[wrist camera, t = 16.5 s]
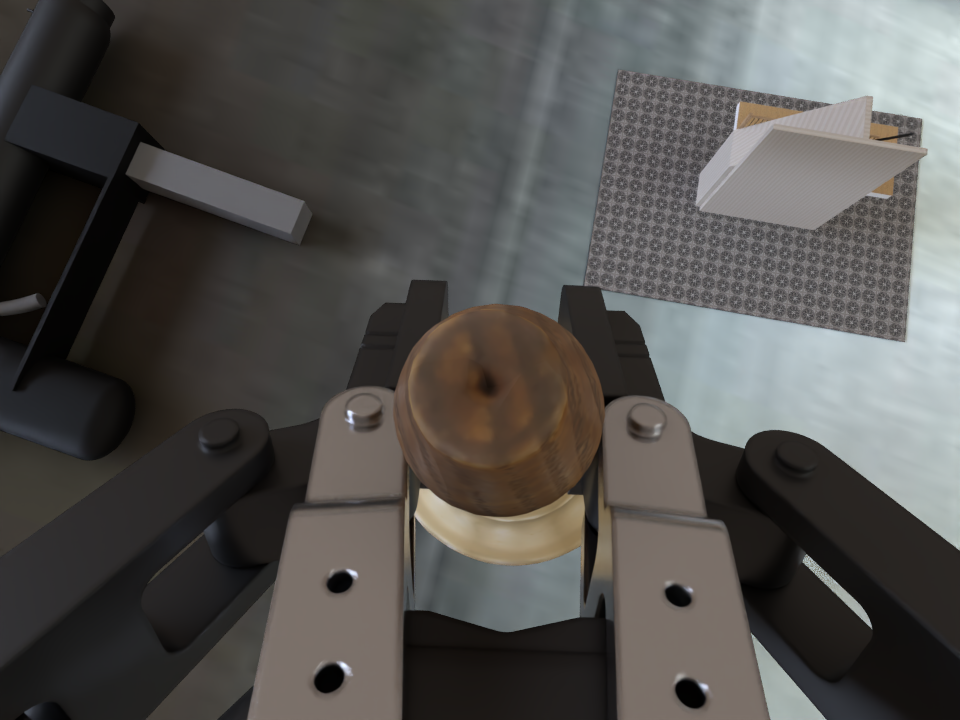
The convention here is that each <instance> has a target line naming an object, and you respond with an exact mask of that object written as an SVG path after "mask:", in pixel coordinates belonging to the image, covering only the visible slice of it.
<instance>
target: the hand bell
mask: <svg viewBox="0 0 960 720" xmlns="http://www.w3.org/2000/svg"><path fill="white" fill-rule="evenodd" d="M393 418H394V423H395V429H396V434H397V438H398V441H399V444H400V446H401V449H402V451H403V454H404V457H405V459H406V461H407V463H408V464H409V466H410V467H411V469H412V470H413V472H414V473H415V475H416V476H417V477H418V479H419V480H420V481H421V482H422V483H423V484H424V485H425V486H426V487H427V488H428V489H420V490H419V497H418V504H417V509H416V511H415V517H416V518H417V520H418V521H419V522H420V523H421V524H422V525H423V527H424V528H425V529H426V530H427V531H428V532H429V533H430V534H432V535H433V536H434V537H435V538H437V539H438V540H439V541H441V542H442V543H444V544H445V545H446V546H448V547H449V548H451V549H453V550H455V551H457V552H458V553H461V554H463V555H465V556H468V557H470V558H473V559H476V560H479V561H482V562H486V563H491V564H498V565H511V566H518V565H529V564H535V563H541V562H544V561H548V560H551V559H554V558H557V557H559V556H562V555H564V554H566V553H568V552H570V551H572V550H574V549H576V548H578V547H580V546H581V528H582V522H583V516H584V511H585V505H584V498H583V495H568V494H567V492H568V491H569V490H570V489H571V488H573V487H574V486H575V485H576V484H577V483H578V481H579V480H580V479H581V477H582V476H583V475H584V473H585V472H586V471H587V469H588V468H589V466H590V464H591V463H592V460H593V458H594V456H595V454H596V452H597V449H598V446H599V443H600V439H601V435H602V429H603V423H604V418H605V407H604V398H603V393H602V388H601V384H600V380H599V377H598V375H597V372H596V370H595V368H594V365H593V363H592V361H591V360H590V358H589V356H588V355H587V353H586V351H585V350H584V348H583V347H582V345H581V344H580V343H579V342H578V340H577V339H576V338H575V337H574V336H573V335H572V334H571V333H570V332H569V331H568V330H566V329H565V328H564V327H562V326H561V325H560V324H558V323H557V322H556V321H554V320H552V319H550V318H548V317H547V316H545V315H543V314H541V313H538V312H535V311H533V310H530V309H527V308H524V307H520V306H512V305H502V304H490V305H484V306H477V307H472V308H469V309H466V310H463V311H460V312H458V313H455V314H453V315H451V316H449V317H448V318H446V319H444V320H443V321H441V322H440V323H438V324H436V325H435V326H433V327H432V328H431V329H430V330H428V331H427V332H426V333H425V334H424V335H423V336H422V338H421V339H420V340H419V341H418V342H417V343H416V344H415V346H414V347H413V349H412V350H411V352H410V354H409V356H408V358H407V360H406V362H405V364H404V366H403V369H402V371H401V373H400V376H399V380H398V383H397V386H396V390H395V393H394V405H393Z"/></svg>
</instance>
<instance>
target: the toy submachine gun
mask: <svg viewBox="0 0 960 720" xmlns="http://www.w3.org/2000/svg"><path fill="white" fill-rule="evenodd" d="M27 11H29V12H31V13H32V15H31V17H30V19H29V21H28V23H27V25H26V27H25V29H24V31H23V33H22V35H21V37H20V39H19V41H18V42H17V44H16V46H15V48H14V50H13V52H12V54H11V56H10V58H9V60H8V62H7V64H6V66H5V68H4V70H3V72H2V74H1V76H0V267H1V265H2V263H3V261H4V259H5V257H6V255H7V252H8V250H9V248H10V246H11V244H12V242H13V240H14V238H15V236H16V234H17V232H18V230H19V228H20V226H21V224H22V222H23V220H24V218H25V216H26V214H27V212H28V209H29V207H30V205H31V203H32V201H33V199H34V197H35V195H36V193H37V191H38V189H39V187H40V185H41V183H42V181H43V179H44V177H45V175H46V173H47V171H48V169H50V170H52V171H55V172H58V173H61V174H63V175H66V176H69V177H72V178H75V179H77V180H80V181H83V182H86V183H88V184H91V185H94V186H97V187H99V188H102V191H101V193H100V195H99V197H98V199H97V202H96V204H95V206H94V208H93V210H92V212H91V214H90V216H89V218H88V221H87V223H86V225H85V227H84V229H83V231H82V233H81V235H80V238H79V240H78V242H77V244H76V246H75V248H74V250H73V252H72V254H71V257H70V259H69V261H68V263H67V265H66V267H65V269H64V271H63V274H62V276H61V278H60V280H59V282H58V284H57V286H56V288H55V290H54V293H53V295H52V297H51V299H50V301H49V303H48V305H47V307H46V300H45V299H44V297H43V296H42V295H41V294H39V293H36V294H33V295H30V296H27V297H23V298H20V299H15V300H11V301H5V302H0V316H7V315H15V314H21V313H25V312H30V311H33V310H37V309H40V308H43V307H46V309H45V312H44V314H43V316H42V318H41V320H40V322H39V324H38V326H37V329H36V331H35V333H34V335H33V337H32V339H31V341H30V343H29V345H28V346H26V345H23V344H21V343H18V342H15V341H12V340H10V339H7V338H4V337H1V336H0V430H1V431H4V432H7V433H9V434H12V435H15V436H18V437H20V438H23V439H26V440H29V441H32V442H34V443H37V444H40V445H43V446H46V447H48V448H51V449H54V450H57V451H60V452H62V453H65V454H68V455H71V456H73V457H76V458H79V459H82V460H96V459H99V458H102V457H104V456H106V455H108V454H109V453H111V452H112V451H113V450H114V449H115V448H117V447H118V446H119V444H120V443H121V442H122V441H123V439H124V438H125V437H126V435H127V433H128V431H129V429H130V427H131V425H132V422H133V419H134V414H135V398H134V394H133V391H132V389H131V388H130V386H129V385H128V384H127V383H126V382H124V381H123V380H121V379H118V378H115V377H112V376H110V375H107V374H104V373H101V372H99V371H96V370H93V369H90V368H87V367H85V366H82V365H79V364H76V363H74V362H71V361H68V360H66V358H67V356H68V353H69V351H70V349H71V347H72V345H73V343H74V340H75V338H76V336H77V334H78V332H79V330H80V327H81V325H82V323H83V321H84V319H85V317H86V314H87V312H88V310H89V308H90V306H91V304H92V301H93V299H94V297H95V295H96V293H97V291H98V288H99V286H100V284H101V282H102V280H103V278H104V275H105V273H106V271H107V269H108V267H109V265H110V262H111V260H112V258H113V256H114V254H115V252H116V249H117V247H118V245H119V243H120V241H121V239H122V236H123V234H124V232H125V230H126V228H127V226H128V223H129V221H130V219H131V217H132V215H133V213H134V210H135V208H136V206H137V204H138V202H141V203H145V200H146V198H147V196H148V194H149V192H153V193H156V194H159V195H161V196H164V197H167V198H170V199H172V200H175V201H178V202H181V203H184V204H186V205H189V206H192V207H195V208H197V209H200V210H203V211H206V212H208V213H211V214H214V215H217V216H219V217H222V218H225V219H228V220H231V221H233V222H236V223H239V224H242V225H244V226H247V227H250V228H253V229H255V230H258V231H261V232H264V233H267V234H269V235H272V236H275V237H278V238H280V239H283V240H286V241H289V242H291V243H294V244H297V245H300V243H301V241H302V238H303V236H304V234H305V231H306V229H307V226H308V224H309V221H310V219H311V217H312V213H311V211H310V210H309V208H308V206H307V205H306V203H305V201H302V200H300V199H297V198H294V197H291V196H288V195H286V194H283V193H280V192H277V191H275V190H272V189H269V188H266V187H264V186H261V185H258V184H255V183H253V182H250V181H247V180H244V179H241V178H239V177H236V176H233V175H230V174H228V173H225V172H222V171H219V170H217V169H214V168H211V167H208V166H206V165H203V164H200V163H197V162H195V161H192V160H189V159H186V158H183V157H181V156H178V155H175V154H172V153H170V152H167V151H166V150H165V149H164V148H163V147H162V146H161V145H160V144H159V143H158V142H157V141H156V140H155V139H154V138H153V137H152V136H151V135H150V134H149V133H148V132H147V131H146V130H145V129H144V128H143V127H142V126H141V125H140V124H139V123H137V122H135V121H132V120H129V119H126V118H124V117H121V116H118V115H115V114H112V113H110V112H107V111H104V110H101V109H99V108H96V107H93V106H90V105H88V104H85V103H82V102H81V101H82V99H83V97H84V95H85V93H86V91H87V89H88V87H89V85H90V83H91V81H92V79H93V77H94V74H95V72H96V70H97V68H98V66H99V64H100V62H101V60H102V58H103V56H104V54H105V52H106V50H107V48H108V46H109V43H110V27H111V25H112V23H113V21H114V19H115V15H114V13H113V12H112V10H111V9H110V8H109V7H108V6H107V5H106V4H105V3H104V2H103V1H102V0H39V2H38V4H37V5H36V7H35V9H33V10H31V9H27Z"/></svg>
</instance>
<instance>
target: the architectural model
mask: <svg viewBox="0 0 960 720" xmlns="http://www.w3.org/2000/svg"><path fill="white" fill-rule="evenodd" d="M872 103H873V97H872V96H864V97H860V98H856V99H853V100H849V101H845V102H841V103H837V104H827V103H821V102H815V101H809V100H803V99H797V98H790V97H784V96H778V95H772V94H766V93H760V92H753V91H747V90H741V89H735V88H729V87H723V86H717V85H710V84H704V83H698V82H692V81H686V80H680V79H674V78H667V77H661V76H655V75H649V74H643V73H637V72H630V71H624V70H619V71H618V77H617V83H616V89H615V96H614V102H613V108H612V114H611V121H610V127H609V133H608V139H607V146H606V152H605V158H604V164H603V170H602V177H601V183H600V189H599V195H598V202H597V208H596V214H595V220H594V227H593V233H592V239H591V245H590V252H589V258H588V264H587V270H586V276H585V283H584V286H599V287H600V288H601V289H603V290H609V291H615V292H621V293H626V294H632V295H638V296H644V297H649V298H655V299H661V300H667V301H672V302H678V303H684V304H690V305H695V306H701V307H707V308H713V309H718V310H724V311H730V312H736V313H741V314H747V315H753V316H759V317H764V318H770V319H776V320H782V321H787V322H793V323H799V324H805V325H810V326H816V327H822V328H828V329H833V330H839V331H845V332H851V333H856V334H862V335H868V336H874V337H879V338H885V339H891V340H897V341H902V342H905V332H906V319H907V306H908V293H909V280H910V267H911V254H912V241H913V229H914V216H915V203H916V190H917V177H918V164H919V159H921V158H922V157H924V156H925V155H927V150H928V149H926V148H920V138H921V125H922V119H920V118H913V117H907V116H901V115H895V114H889V113H883V112H877V111H872Z"/></svg>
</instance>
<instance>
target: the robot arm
mask: <svg viewBox="0 0 960 720" xmlns="http://www.w3.org/2000/svg"><path fill="white" fill-rule="evenodd" d="M446 318H448V282H447V281H433V280H412V281H411V284H410V288H409V292H408V296H407V300H406V303H385V304H383V305H382V306H381V307H380V308H379V309H378V310H377V311H376V312H375V313H373V314H372V315H371V316H370V319H369V322H368V325H367V328H366V334H365V335H364V338H363V341H362V344H361V348H360V350H359V353H358V356H357V359H356V362H355V365H354V368H353V371H352V374H351V377H350V380H349V383H348V386H347V389H346V390H345V391H343V392H340V393H339V394H337V395H335V396H334V397H332V398H331V399H330V400H329V401H328V402H327V403H326V404H325V406H324V408H323V409H322V412H321V416H320V418H319V419H317V420H314V421H312V422H309V423H305V424H301V425H297V426H291V427H286V428H281V429H276V430H270V431H269V428H268V424H267V422H266V421H265V419H264V418H262V417H261V416H260V415H258V414H257V413H255V412H252V411H248V410H243V409H226V410H220V411H216V412H212V413H209V414H206V415H204V416H202V417H200V418H198V419H196V420H194V421H192V422H191V423H189V424H188V425H186V426H185V427H184V428H182V429H181V430H179V431H178V432H177V433H175V434H174V435H172V436H171V437H169V438H168V439H167V440H165V441H164V442H162V443H161V444H160V445H158V446H157V447H155V448H154V449H153V450H151V451H150V452H148V453H147V454H146V455H144V456H143V457H141V458H140V459H138V460H137V461H136V462H134V463H133V464H131V465H130V466H129V467H127V468H126V469H124V470H123V471H122V472H120V473H119V474H117V475H116V476H115V477H113V478H112V479H110V480H109V481H107V482H106V483H105V484H103V485H102V486H100V487H99V488H98V489H96V490H95V491H93V492H92V493H91V494H89V495H88V496H86V497H85V498H83V499H82V500H81V501H79V502H78V503H76V504H75V505H74V506H72V507H71V508H69V509H68V510H67V511H65V512H64V513H62V514H61V515H60V516H58V517H57V518H55V519H54V520H52V521H51V522H50V523H48V524H47V525H45V526H44V527H43V528H41V529H40V530H38V531H37V532H36V533H34V534H33V535H31V536H30V537H29V538H27V539H26V540H24V541H23V542H21V543H20V544H19V545H17V546H16V547H14V548H13V549H12V550H10V551H9V552H7V553H6V554H5V555H3V556H2V557H0V720H145V719H146V718H147V717H148V716H149V715H150V714H151V713H152V712H153V711H154V710H155V709H156V708H157V707H158V705H159V704H160V703H161V702H162V701H163V700H164V699H165V698H166V697H167V696H168V695H169V694H170V693H171V692H172V691H173V689H174V688H175V687H176V686H177V685H178V684H179V683H180V682H181V681H182V680H183V679H184V678H185V677H186V676H187V675H188V673H189V672H190V671H191V670H192V669H193V668H194V667H195V666H196V665H197V664H198V663H199V662H200V661H201V660H202V659H203V657H204V656H205V655H206V654H207V653H208V652H209V651H210V650H211V649H212V648H213V647H214V646H215V645H216V644H217V643H218V641H219V640H220V639H221V638H222V637H223V636H224V635H225V634H226V633H227V632H228V631H229V630H230V629H231V628H232V627H233V625H234V624H235V623H236V622H237V621H238V620H239V619H240V618H241V617H242V616H243V615H244V614H245V613H246V612H247V610H248V609H249V608H250V607H251V606H252V605H253V604H254V603H255V602H256V601H257V600H258V599H259V598H260V597H261V596H262V594H263V593H264V592H265V591H266V590H267V589H268V588H269V587H270V586H271V585H272V584H273V583H274V582H275V581H276V582H275V587H274V592H273V596H272V601H271V606H270V611H269V616H268V621H267V625H266V630H265V635H264V640H263V645H262V650H261V655H260V659H259V664H258V669H257V674H256V679H255V684H254V686H252V687H251V688H250V689H249V690H248V691H247V692H246V693H245V694H244V695H243V696H242V697H241V698H240V699H239V700H238V701H237V702H236V703H235V704H233V705H232V706H231V707H230V708H229V709H228V710H227V711H226V712H225V713H224V714H223V715H222V716H221V717H220V718H219V719H218V720H770V717H769V712H768V708H767V703H766V699H765V694H764V690H763V685H762V681H761V676H760V672H759V667H758V663H757V658H756V654H755V649H754V645H753V640H752V636H751V633H752V634H753V635H754V636H755V637H756V638H757V640H758V641H759V642H760V643H761V644H762V645H763V647H764V648H765V649H766V650H767V651H768V652H769V653H770V655H771V656H772V657H773V658H774V659H775V660H776V662H777V663H778V664H779V665H780V666H781V667H782V668H783V670H784V671H785V672H786V673H787V674H788V675H789V677H790V678H791V679H792V680H793V681H794V682H795V683H796V685H797V686H798V687H799V688H800V689H801V690H802V692H803V693H804V694H805V695H806V696H807V697H808V698H809V700H810V701H811V702H812V703H813V704H814V705H815V707H816V708H817V709H818V710H819V711H820V712H821V713H822V715H823V716H824V717H825V718H826V719H827V720H960V551H959V550H958V549H957V548H956V547H954V546H953V545H952V544H950V543H949V542H948V541H946V540H945V539H944V538H943V537H941V536H940V535H939V534H937V533H936V532H935V531H933V530H932V529H931V528H930V527H928V526H927V525H926V524H924V523H923V522H922V521H920V520H919V519H918V518H917V517H915V516H914V515H913V514H911V513H910V512H909V511H907V510H906V509H905V508H904V507H902V506H901V505H900V504H898V503H897V502H896V501H894V500H893V499H892V498H890V497H889V496H888V495H887V494H885V493H884V492H883V491H881V490H880V489H879V488H877V487H876V486H875V485H874V484H872V483H871V482H870V481H868V480H867V479H866V478H864V477H863V476H862V475H861V474H859V473H858V472H857V471H855V470H854V469H853V468H851V467H850V466H849V465H848V464H846V463H845V462H844V461H842V460H841V459H840V458H838V457H837V456H836V455H835V454H833V453H832V452H831V451H829V450H828V449H827V448H825V447H824V446H822V445H821V444H819V443H818V442H816V441H814V440H812V439H810V438H808V437H805V436H803V435H800V434H797V433H793V432H789V431H782V430H769V431H763V432H759V433H757V434H755V435H753V436H752V437H751V438H750V439H749V440H748V442H747V444H746V446H745V449H744V448H740V447H736V446H732V445H728V444H724V443H721V442H717V441H713V440H710V439H707V438H704V437H702V436H699V435H697V434H695V433H693V432H691V428H690V425H689V422H688V421H687V419H686V417H685V416H684V415H683V414H682V413H681V412H680V411H679V410H678V409H677V408H675V407H674V406H672V405H671V404H669V403H667V402H665V400H664V397H663V394H662V391H661V388H660V385H659V382H658V379H657V376H656V373H655V370H654V367H653V364H652V361H651V358H649V352H648V349H647V346H646V345H645V340H644V337H643V334H642V331H641V328H640V325H639V324H637V323H636V322H635V321H634V320H633V319H632V318H631V317H630V316H629V315H628V314H627V313H626V312H625V311H606V307H605V303H604V299H603V296H602V292H601V288H600V287H599V286H575V285H563V288H562V292H561V300H560V308H559V317H558V324H560V325H561V326H562V327H564V328H565V329H566V330H568V331H569V332H570V333H571V334H572V335H573V336H574V337H575V338H576V339H577V340H578V342H579V343H580V344H581V345H582V347H583V348H584V350H585V351H586V353H587V355H588V356H589V358H590V360H591V361H592V363H593V365H594V368H595V370H596V372H597V375H598V377H599V380H600V384H601V388H602V393H603V398H604V407H605V418H604V423H603V429H602V435H601V439H600V443H599V446H598V449H597V452H596V454H595V456H594V458H593V460H592V463H591V464H590V466H589V468H588V469H587V471H586V472H585V473H584V475H583V476H582V477H581V479H580V480H579V481H578V483H577V484H576V485H575V486H574V487H573V488H571V489H570V490H569V491H568V492H567V494H568V495H583V498H584V505H585V511H584V516H583V522H582V528H581V580H580V617H579V618H575V619H570V620H565V621H561V622H556V623H551V624H547V625H542V626H537V627H533V628H528V629H523V630H519V631H514V632H499V631H495V630H492V629H488V628H485V627H482V626H478V625H475V624H471V623H468V622H465V621H461V620H458V619H455V618H451V617H448V616H444V615H441V614H438V613H434V612H431V611H420V610H416V609H415V511H416V509H417V504H418V497H419V490H420V489H428V488H427V487H426V486H425V485H424V484H423V483H422V482H421V481H420V480H419V479H418V477H417V476H416V475H415V473H414V472H413V470H412V469H411V467H410V466H409V464H408V463H407V461H406V459H405V457H404V454H403V451H402V449H401V446H400V444H399V441H398V438H397V434H396V429H395V423H394V418H393V405H394V393H395V390H396V386H397V383H398V380H399V376H400V373H401V371H402V369H403V366H404V364H405V362H406V360H407V358H408V356H409V354H410V352H411V350H412V349H413V347H414V346H415V344H416V343H417V342H418V341H419V340H420V339H421V338H422V336H423V335H424V334H425V333H426V332H427V331H428V330H430V329H431V328H432V327H433V326H435V325H436V324H438V323H440V322H441V321H443V320H444V319H446ZM202 532H204V535H203V536H202V537H200V538H199V539H198V540H197V541H196V542H195V543H194V544H193V545H191V546H190V547H189V548H188V549H187V550H186V551H185V552H184V553H182V554H181V555H180V556H179V557H178V558H177V559H176V560H175V561H173V562H172V563H171V564H170V565H169V566H168V567H167V568H165V569H164V570H163V571H162V572H161V573H160V574H159V575H158V576H156V577H155V578H154V579H153V580H152V581H151V582H150V583H149V584H148V582H149V581H150V579H151V578H152V577H153V576H154V574H156V573H157V572H158V571H159V570H160V569H161V568H162V567H163V566H164V565H165V564H167V563H168V562H169V561H170V560H171V559H172V558H173V557H174V556H176V555H177V554H178V553H179V552H180V551H181V550H182V549H184V548H185V547H186V546H187V545H188V544H189V543H190V542H192V541H193V540H194V539H195V538H196V537H197V536H198V535H199V534H201V533H202ZM806 554H808V555H809V556H810V557H811V558H812V559H813V560H814V561H815V562H816V563H817V564H818V565H819V566H820V567H821V568H822V569H823V570H824V571H825V572H827V573H828V574H829V575H830V576H831V577H832V578H833V579H834V580H835V581H836V582H837V583H838V584H839V585H840V586H841V587H842V588H843V589H845V590H846V591H847V592H848V593H849V594H850V595H851V596H852V597H853V598H854V599H855V600H856V601H857V602H858V603H859V604H860V605H861V606H862V608H863V609H864V610H865V612H866V613H867V615H868V617H869V619H870V622H871V625H872V629H873V630H872V629H871V628H870V627H869V626H868V625H867V624H866V623H865V622H864V621H863V620H862V619H861V618H860V617H859V616H858V615H857V614H856V613H855V612H854V611H853V610H851V609H850V608H849V607H848V606H847V605H846V604H845V603H844V602H843V601H842V600H841V599H840V598H839V597H838V596H837V595H836V594H835V593H834V592H833V591H832V590H831V589H830V588H829V587H828V586H827V585H826V584H824V583H823V582H822V581H821V580H820V579H819V578H818V577H817V576H816V575H815V574H814V573H813V572H812V571H811V570H810V569H809V568H808V567H807V566H806V565H805V564H804V563H803V562H802V561H803V559H804V557H805V555H806Z"/></svg>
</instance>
